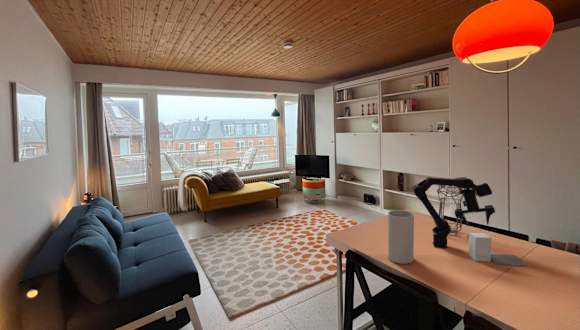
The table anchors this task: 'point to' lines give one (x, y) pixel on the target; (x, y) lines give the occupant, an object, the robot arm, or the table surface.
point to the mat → (507, 260)
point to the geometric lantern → (450, 203)
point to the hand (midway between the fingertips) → (478, 225)
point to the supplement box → (480, 247)
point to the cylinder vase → (401, 236)
